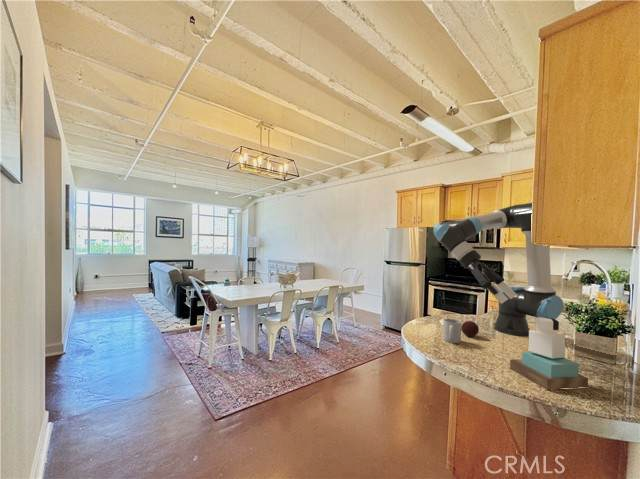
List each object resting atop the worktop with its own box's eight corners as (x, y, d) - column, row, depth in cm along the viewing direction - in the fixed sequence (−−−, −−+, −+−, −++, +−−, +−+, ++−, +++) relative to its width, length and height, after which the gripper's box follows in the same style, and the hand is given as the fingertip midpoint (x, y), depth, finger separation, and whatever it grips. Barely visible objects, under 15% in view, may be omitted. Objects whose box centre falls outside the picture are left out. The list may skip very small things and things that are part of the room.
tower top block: (547, 362, 95) (547, 351, 95) (578, 376, 85) (578, 363, 85) (522, 363, 94) (522, 351, 94) (551, 378, 84) (551, 364, 84)
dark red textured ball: (477, 334, 133) (477, 320, 133) (479, 339, 126) (479, 324, 126) (460, 332, 136) (461, 318, 136) (461, 337, 129) (462, 322, 129)
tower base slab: (545, 370, 98) (545, 358, 98) (587, 391, 84) (588, 378, 84) (509, 370, 97) (510, 359, 97) (547, 392, 83) (547, 379, 83)
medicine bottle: (540, 350, 95) (541, 315, 96) (565, 357, 89) (565, 320, 90) (527, 351, 93) (528, 315, 94) (552, 359, 86) (553, 320, 87)
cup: (460, 339, 125) (461, 320, 125) (460, 346, 116) (461, 325, 116) (443, 336, 128) (444, 317, 129) (441, 343, 120) (442, 323, 120)
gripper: (469, 260, 121) (509, 300, 110) (446, 262, 103) (491, 310, 92) (483, 249, 117) (525, 289, 106) (462, 248, 100) (510, 296, 89)
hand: (509, 299), depth 99 cm, fingers open, 13 cm apart
